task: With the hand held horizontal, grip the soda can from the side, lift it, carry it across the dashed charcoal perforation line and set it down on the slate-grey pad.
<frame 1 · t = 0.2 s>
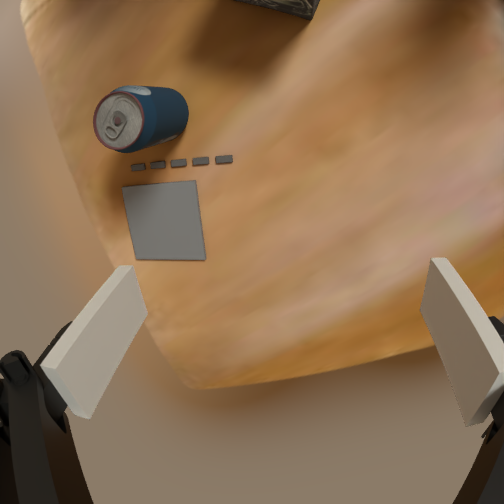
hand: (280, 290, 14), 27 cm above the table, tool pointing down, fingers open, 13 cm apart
perforation line: (179, 162, 40), on the table
soda can: (167, 114, 37), on the table
slate pad: (163, 221, 43), on the table
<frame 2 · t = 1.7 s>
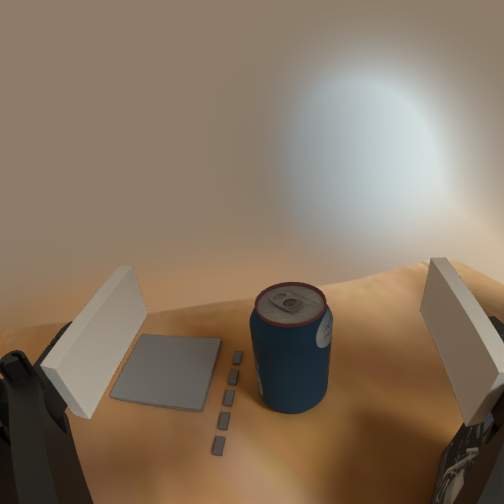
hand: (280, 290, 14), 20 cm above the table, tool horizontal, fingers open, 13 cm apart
perforation line: (229, 398, 31), on the table
soda can: (292, 394, 31), on the table
slate pad: (167, 369, 35), on the table
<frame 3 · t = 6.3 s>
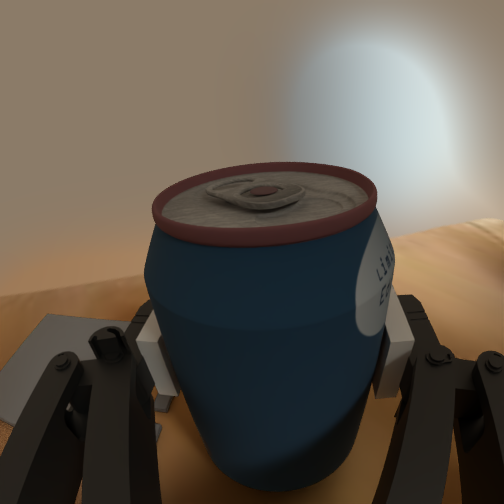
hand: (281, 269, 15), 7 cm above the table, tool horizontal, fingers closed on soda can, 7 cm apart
perforation line: (149, 440, 14), on the table
soda can: (280, 439, 14), on the table, touching gripper
slate pad: (63, 372, 18), on the table
when the fingers open (8 cm above the table, at t = 10.9 s): soda can stays where it is, resting on slate pad.
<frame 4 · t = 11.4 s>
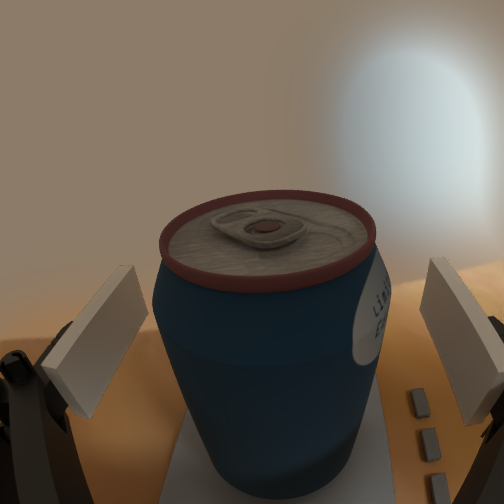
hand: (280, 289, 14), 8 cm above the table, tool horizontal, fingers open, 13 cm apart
perforation line: (439, 492, 10), on the table
soda can: (281, 449, 14), resting on slate pad
slate pad: (281, 450, 14), on the table
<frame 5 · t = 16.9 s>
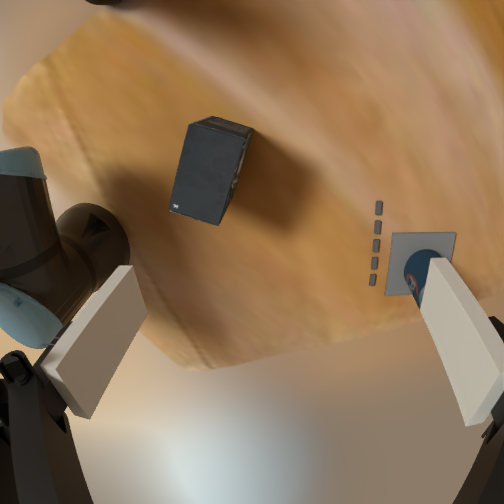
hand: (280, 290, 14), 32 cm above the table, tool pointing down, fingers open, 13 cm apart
perforation line: (375, 245, 46), on the table
soda can: (420, 264, 46), resting on slate pad
slate pad: (420, 263, 46), on the table
box: (222, 157, 43), on the table
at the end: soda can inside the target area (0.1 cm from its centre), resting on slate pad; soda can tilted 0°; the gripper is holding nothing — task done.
